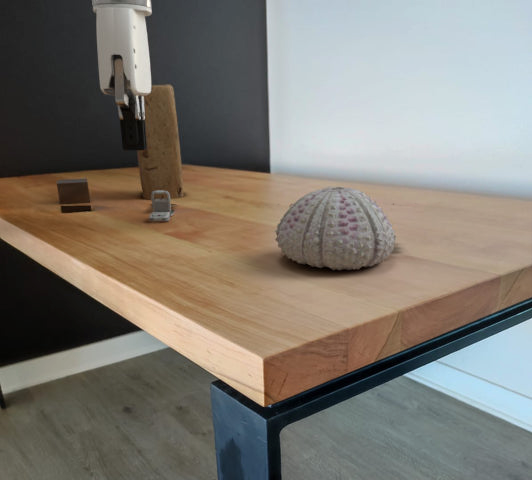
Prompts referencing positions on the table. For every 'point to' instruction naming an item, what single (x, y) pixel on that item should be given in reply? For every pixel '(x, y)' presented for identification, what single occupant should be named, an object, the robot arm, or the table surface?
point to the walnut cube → (73, 195)
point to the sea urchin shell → (336, 230)
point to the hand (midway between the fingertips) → (135, 149)
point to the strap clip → (161, 207)
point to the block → (161, 146)
